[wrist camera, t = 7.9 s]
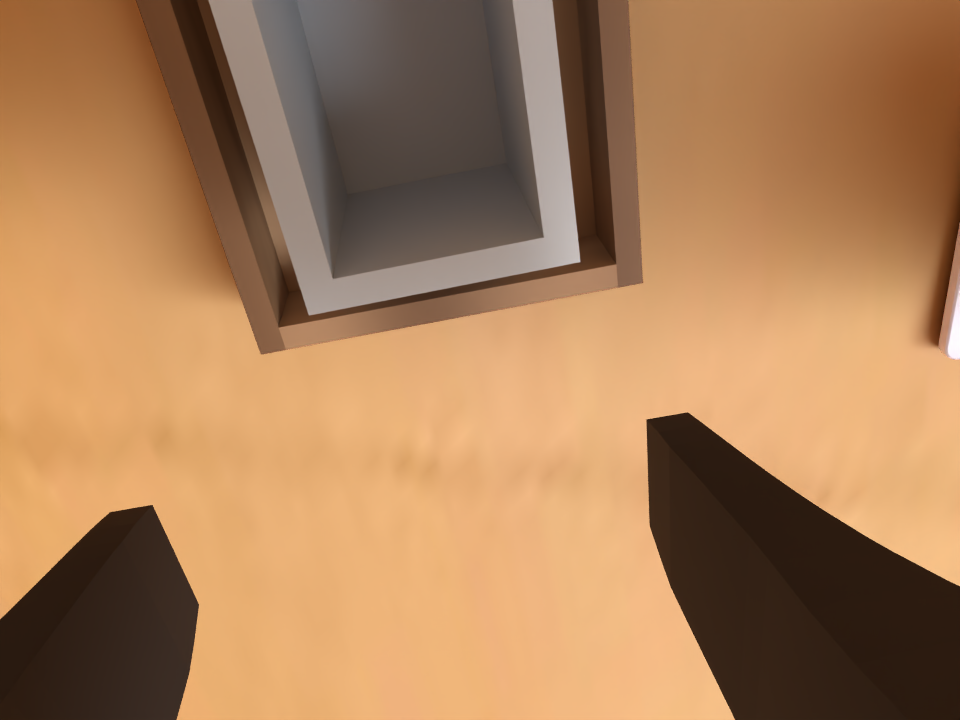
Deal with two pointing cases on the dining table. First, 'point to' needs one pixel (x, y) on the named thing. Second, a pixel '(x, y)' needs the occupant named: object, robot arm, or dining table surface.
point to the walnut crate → (286, 323)
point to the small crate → (406, 140)
